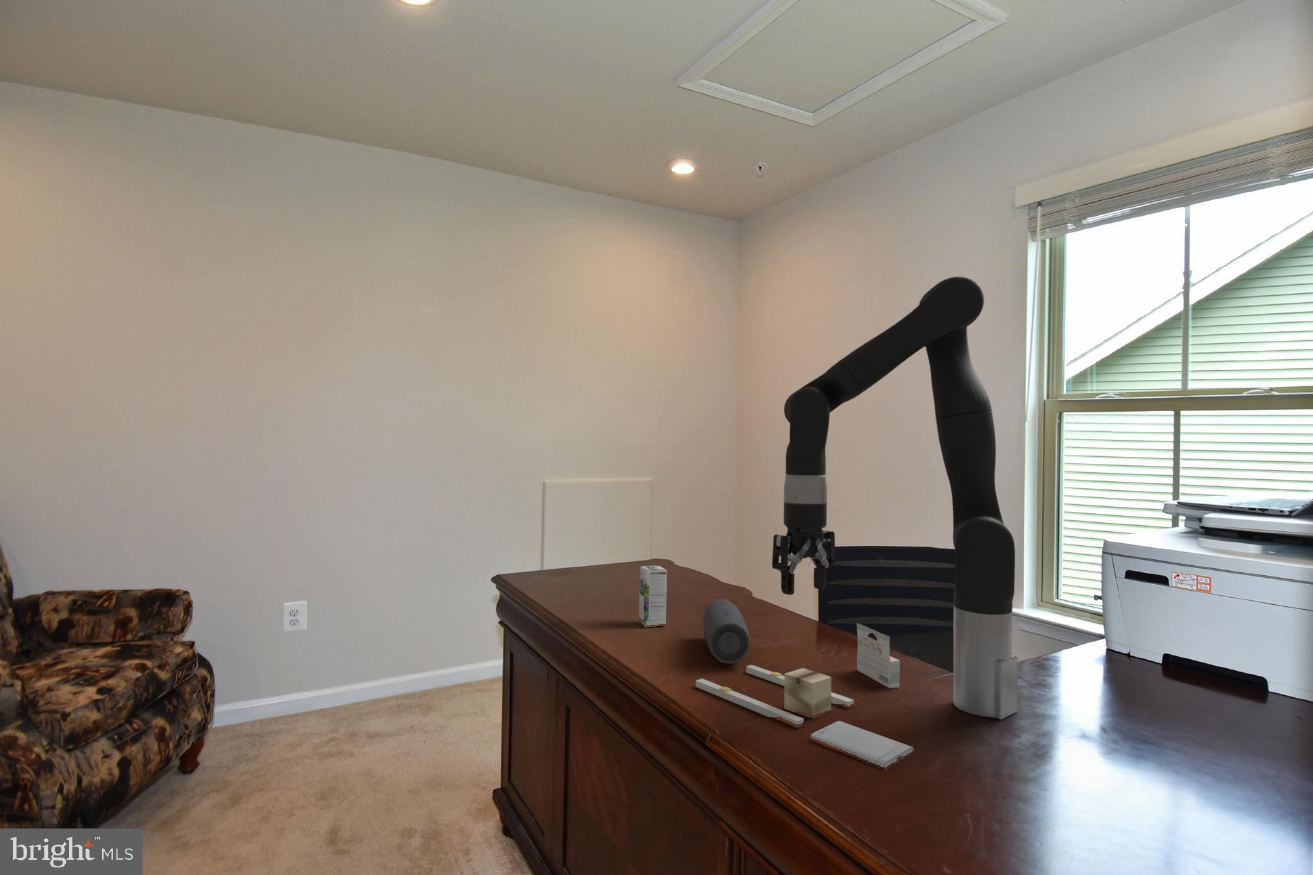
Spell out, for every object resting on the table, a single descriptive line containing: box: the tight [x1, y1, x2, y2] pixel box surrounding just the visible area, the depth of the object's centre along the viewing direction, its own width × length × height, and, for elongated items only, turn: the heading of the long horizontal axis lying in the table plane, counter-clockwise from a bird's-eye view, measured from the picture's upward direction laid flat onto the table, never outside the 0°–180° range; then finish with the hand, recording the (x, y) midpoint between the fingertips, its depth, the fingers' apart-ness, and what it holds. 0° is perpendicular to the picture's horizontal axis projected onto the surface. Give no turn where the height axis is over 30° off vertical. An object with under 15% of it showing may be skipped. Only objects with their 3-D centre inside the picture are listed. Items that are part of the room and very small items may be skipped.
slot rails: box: [695, 664, 855, 725], centre depth 122 cm, size 24×15×1 cm, turn 39°
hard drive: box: [810, 720, 914, 768], centre depth 102 cm, size 2×8×12 cm
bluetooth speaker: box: [702, 598, 751, 664], centre depth 148 cm, size 23×9×10 cm, turn 179°
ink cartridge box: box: [856, 622, 901, 689], centre depth 132 cm, size 2×11×10 cm, turn 16°
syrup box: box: [638, 565, 668, 626], centre depth 171 cm, size 6×6×14 cm
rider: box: [783, 667, 832, 715], centre depth 116 cm, size 6×5×6 cm
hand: (804, 591), depth 120 cm, fingers open, 8 cm apart
